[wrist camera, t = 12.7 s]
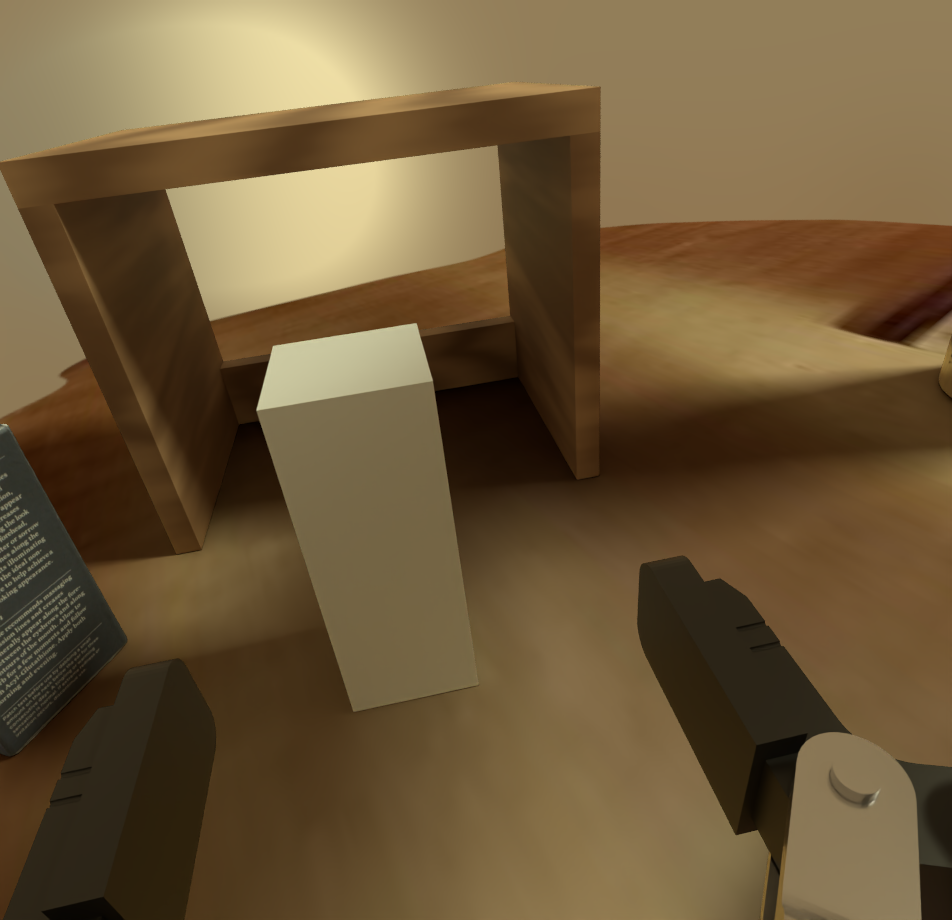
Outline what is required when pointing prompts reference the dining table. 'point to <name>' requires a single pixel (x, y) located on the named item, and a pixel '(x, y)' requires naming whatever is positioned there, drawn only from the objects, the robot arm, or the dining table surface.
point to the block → (372, 509)
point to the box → (43, 607)
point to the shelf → (299, 149)
